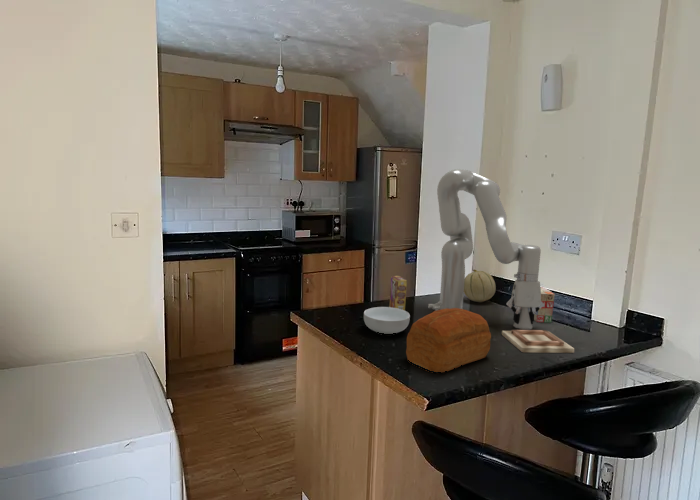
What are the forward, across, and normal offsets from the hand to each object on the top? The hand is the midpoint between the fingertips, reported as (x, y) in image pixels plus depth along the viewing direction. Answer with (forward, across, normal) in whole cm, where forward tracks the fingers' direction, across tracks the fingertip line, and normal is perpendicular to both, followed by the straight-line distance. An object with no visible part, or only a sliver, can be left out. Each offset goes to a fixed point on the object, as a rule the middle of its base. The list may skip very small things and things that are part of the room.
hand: (523, 322), depth 189 cm
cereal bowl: (+2, -55, -7) cm, 55 cm away
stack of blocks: (+2, +13, +18) cm, 22 cm away
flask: (+2, 0, 0) cm, 2 cm away
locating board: (+2, -3, -18) cm, 18 cm away
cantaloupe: (+2, -5, +38) cm, 39 cm away
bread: (+2, -39, -33) cm, 51 cm away
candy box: (+2, -47, +16) cm, 50 cm away
